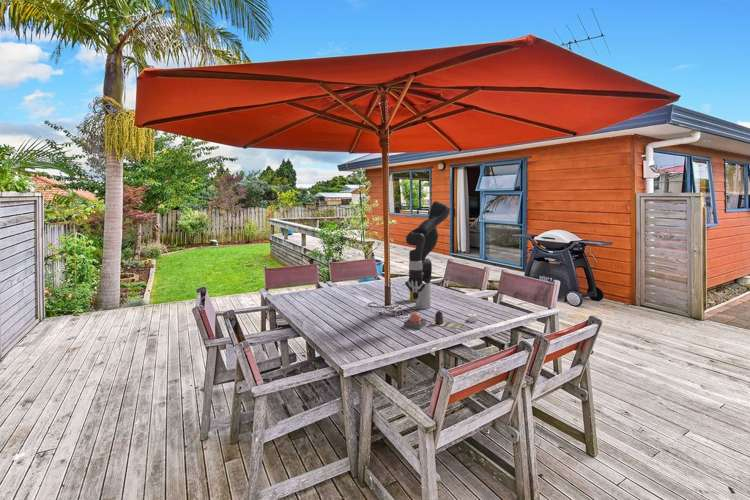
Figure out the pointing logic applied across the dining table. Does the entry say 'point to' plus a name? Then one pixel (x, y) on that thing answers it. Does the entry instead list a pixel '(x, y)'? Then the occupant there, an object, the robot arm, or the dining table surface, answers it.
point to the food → (412, 296)
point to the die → (472, 318)
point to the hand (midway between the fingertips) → (415, 298)
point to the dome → (415, 318)
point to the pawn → (438, 318)
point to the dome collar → (415, 324)
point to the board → (448, 325)
